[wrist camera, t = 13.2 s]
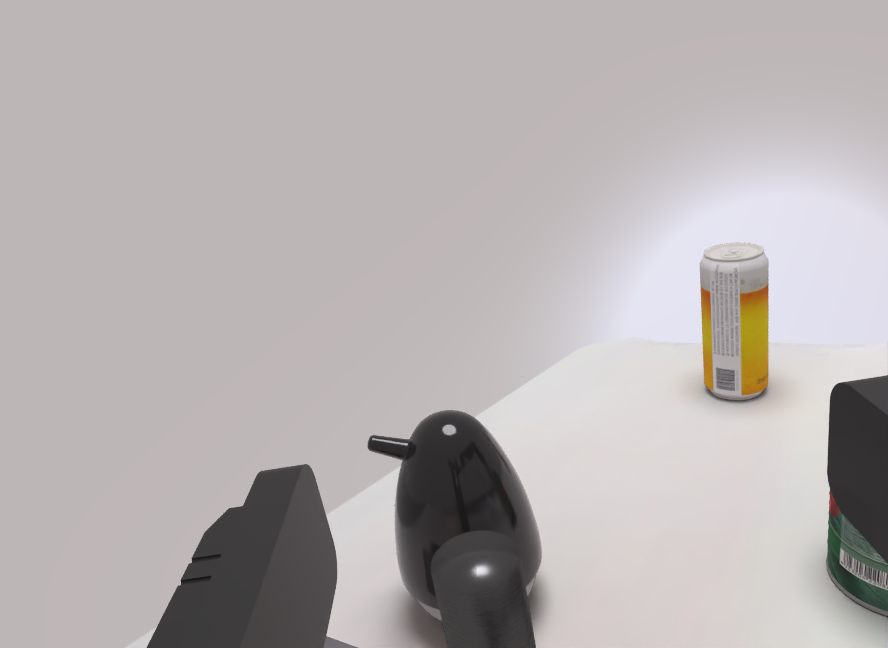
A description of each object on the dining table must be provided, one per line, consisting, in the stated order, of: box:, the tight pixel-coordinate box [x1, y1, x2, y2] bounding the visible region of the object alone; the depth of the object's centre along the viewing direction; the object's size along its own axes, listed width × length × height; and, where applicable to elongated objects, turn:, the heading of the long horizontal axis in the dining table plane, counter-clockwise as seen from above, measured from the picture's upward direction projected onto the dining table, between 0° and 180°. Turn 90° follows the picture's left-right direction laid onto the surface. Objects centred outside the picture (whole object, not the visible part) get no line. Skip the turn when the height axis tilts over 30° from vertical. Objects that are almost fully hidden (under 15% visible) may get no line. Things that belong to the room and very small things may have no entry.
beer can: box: [700, 243, 768, 400], centre depth 67 cm, size 6×6×15 cm
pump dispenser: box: [368, 410, 542, 621], centre depth 46 cm, size 10×10×15 cm
